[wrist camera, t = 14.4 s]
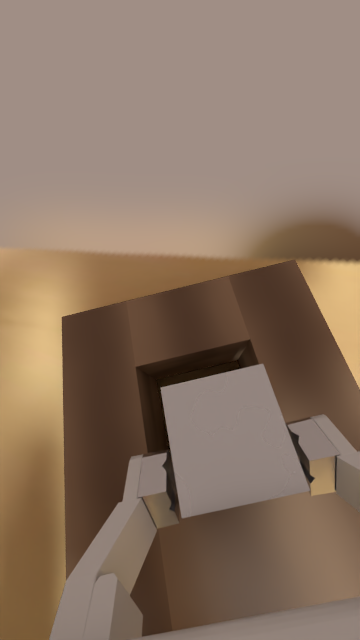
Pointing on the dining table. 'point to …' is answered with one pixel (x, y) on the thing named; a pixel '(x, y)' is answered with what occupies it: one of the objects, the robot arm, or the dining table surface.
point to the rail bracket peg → (229, 442)
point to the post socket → (149, 436)
